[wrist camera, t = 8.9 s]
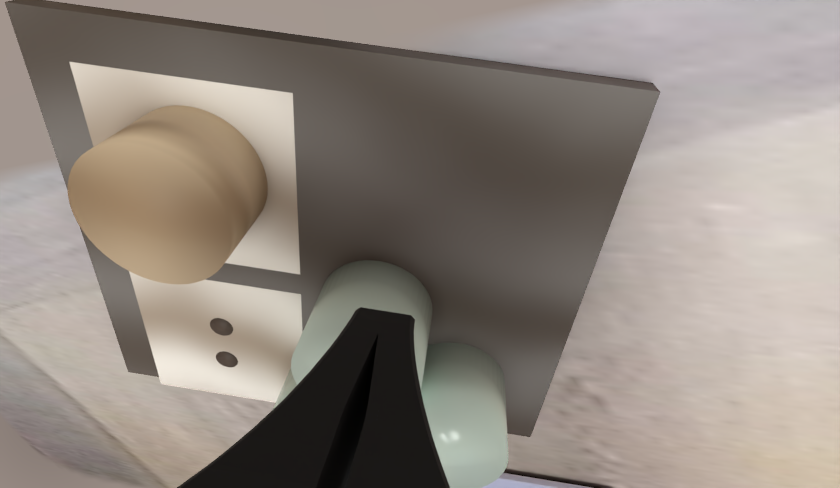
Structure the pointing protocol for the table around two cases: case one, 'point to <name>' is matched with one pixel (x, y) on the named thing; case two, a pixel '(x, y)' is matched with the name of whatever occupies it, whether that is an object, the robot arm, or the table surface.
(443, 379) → the pale green dome
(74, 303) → the table surface
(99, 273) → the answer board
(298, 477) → the robot arm
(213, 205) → the beige rounded lump
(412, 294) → the mint cylinder
